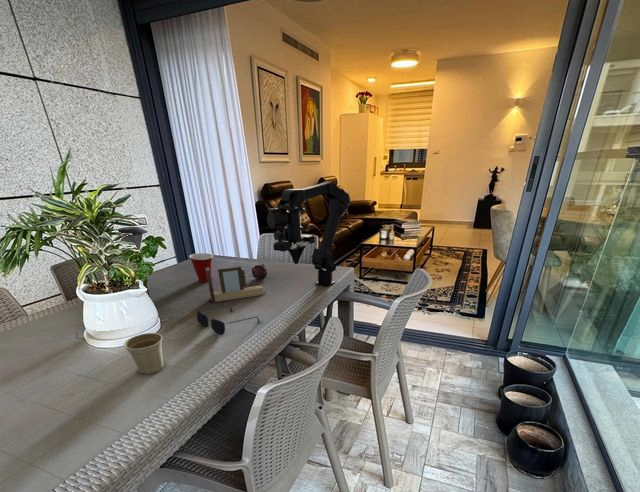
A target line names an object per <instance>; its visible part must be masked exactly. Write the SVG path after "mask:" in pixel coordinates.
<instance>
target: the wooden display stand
mask: <svg viewBox="0 0 640 492" xmlns="http://www.w3.org/2000/svg"><path fill="white" fill-rule="evenodd" d="M205 269H206V274H207V279H208V281H207V284H208V288H209V290H208V291H209V296H210V300H211V303H218V302H225V301H231V300H237V299H238V300H239V299H244V298H250V297H251V298H252V297H257V296H263V295H265V292H264V287H263V286H262V285H255V286H249V287H244V290H239V291H232V292H225V293H222V290H221V291H214V286H213V281H212V279H211V275H210V270H209V268H208V267H207V268H205Z"/></svg>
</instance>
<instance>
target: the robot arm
mask: <svg viewBox="0 0 640 492" xmlns="http://www.w3.org/2000/svg"><path fill="white" fill-rule="evenodd" d="M323 195H325V197H326V199H327V200H328V201H329V202H328V207H329V215H328V218H327V222H326V225H325V229H324V232H323V235H322V238H321V241H320V245H319V246H318V247H317V248H316V247H314V249H313V251H312V255H311V256H310V257H311V263H312V265H313V267H314V270H317V281H316V282H315V284H316V285H320V286H324V287H328V286H330V285H333V284H335V283H336V281H335V280H333V272H335V271H336V269H337V265H336V263H334V262H333V261H332V260H333V252H332V248H333V243H334V241H335V237H336V235H337V232H338V228H339V225H340V222H341V218H342V216H343V214H345V212H346V211H348V208H349V207H350V204H351V197H350V194H349V192H346V191H344V190H343V189H342V188H341V187H339V186H337V185H336V184H335V183H334V182H333V181H323V182H320V183H317V184H314V185H310V186H307V187H303V188H287V189H286V188H285V189H284V190H282V193H281V197H280V199H279V201H278V203H277V206H276V208H274V207H273V208H269V209H268V212H267V215H266V223H267V225H268V227H269V228H271V229H275V228H281V227H282V228H283V231H280V230H277V231H273V239H274V240H275V241H276V242H274V243H273V245H272V246H273V247H272V248H273V251H279V252H287V251H288V253H289V255H290V257H291V259H292V262H293V263H294V265H299V262H300V260H301V257H302V255H303V253H304V251H305V249H306V248H307V246H306V245H304V244H305V243H309V244H310V245H311V244H315V243H316V238H315V236H314V235H311V234H302V230H304V226H302V223H301V222H302V221H301V220H302V219H301V212H305V208H304V207H303V206H302V204H304V203H306V201H308V200H309V199H313V198H317V197H320V196H323Z"/></svg>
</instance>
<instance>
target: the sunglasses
mask: <svg viewBox="0 0 640 492" xmlns="http://www.w3.org/2000/svg"><path fill="white" fill-rule="evenodd" d="M227 307H229V311H230V312H231V313H232V312H233V309H232V307H231V305H229V304H227V305H223V306H217V307H216V306H215V307H211V308H207V309H201V310H197V311H196V319H197V322H198V324H199V325H200V326H201V327H203V328H208V327H209V326H210V327H211V330H212V332H214V333H215V334H216V335H219V336H222V335H224V334H225V333H226V326H225V325H228V324H233V323H238V322H241V321H246V320H251V319H254V318H256V320H257V323H258V324H260V319H259V317H258V316H256V315H255V316H251V317H247V318H243V319H238V320H234V321H230V322H226V323H225V322H224V321H222V320H219V319H216V318H211V319H209V317H208V315H207V314H205V313H203V312H204V311H210V310H215V309H220V308H227Z"/></svg>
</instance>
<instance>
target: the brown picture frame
mask: <svg viewBox="0 0 640 492" xmlns="http://www.w3.org/2000/svg"><path fill="white" fill-rule="evenodd" d="M217 271H218V279H219V283H220V284H219V285H220V290H221V291H222V293H225V292H232V291H239V290H244V288H247V282H246V281H247V280H246V273H245V269H244V268H242V266H233V267H225V268H218V269H217Z"/></svg>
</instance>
